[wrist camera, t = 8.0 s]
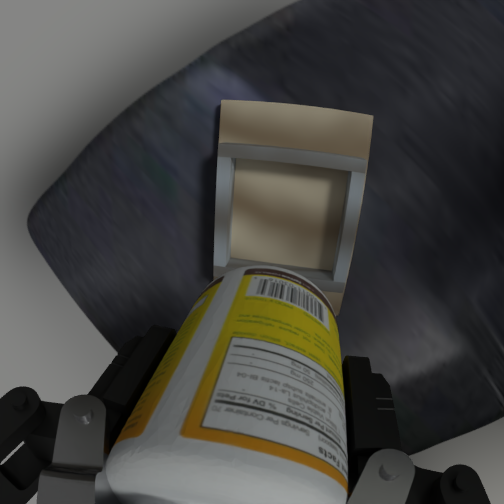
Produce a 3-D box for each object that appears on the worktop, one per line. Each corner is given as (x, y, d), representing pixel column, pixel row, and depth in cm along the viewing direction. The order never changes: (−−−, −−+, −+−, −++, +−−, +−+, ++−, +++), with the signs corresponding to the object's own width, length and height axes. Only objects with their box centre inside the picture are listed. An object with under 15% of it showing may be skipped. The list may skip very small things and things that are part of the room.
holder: (224, 100, 24) (214, 98, 22) (370, 116, 23) (378, 115, 20) (215, 293, 31) (207, 309, 29) (337, 309, 30) (340, 327, 27)
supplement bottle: (222, 378, 14) (147, 585, 5) (178, 272, 12) (6, 507, 3) (345, 365, 13) (345, 610, 3) (325, 244, 11) (332, 610, 1)
